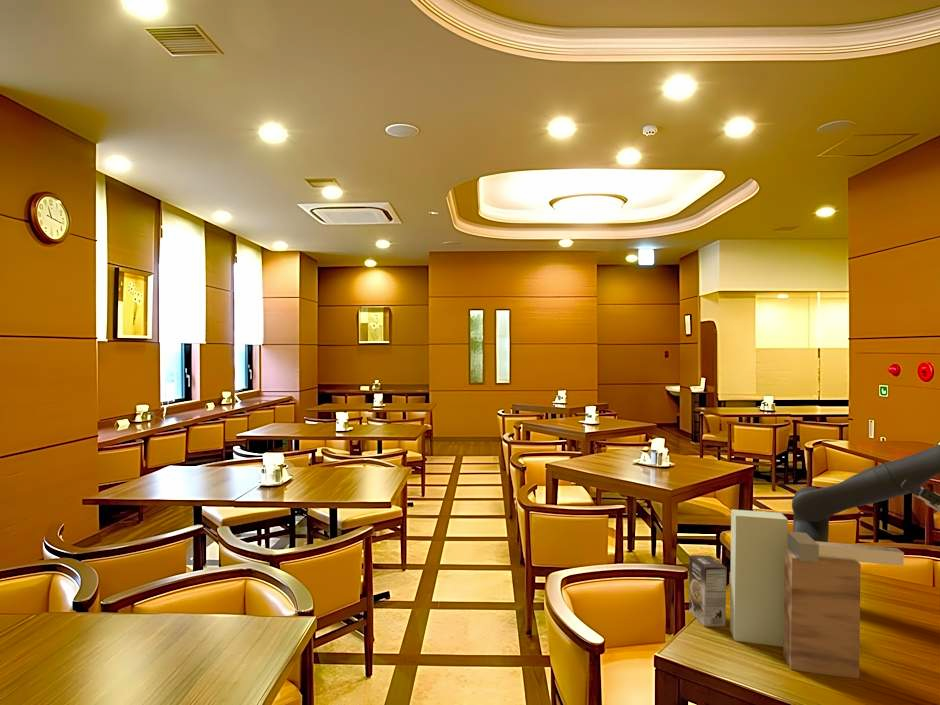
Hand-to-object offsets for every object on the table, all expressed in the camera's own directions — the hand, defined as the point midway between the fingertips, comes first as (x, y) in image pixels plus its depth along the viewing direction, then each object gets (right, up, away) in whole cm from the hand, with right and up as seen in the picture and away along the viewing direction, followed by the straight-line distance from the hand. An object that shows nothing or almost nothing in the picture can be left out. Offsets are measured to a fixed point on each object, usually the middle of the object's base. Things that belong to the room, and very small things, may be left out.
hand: (912, 486), depth 133 cm
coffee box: (-38, -42, +24) cm, 62 cm away
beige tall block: (-29, -42, +14) cm, 53 cm away
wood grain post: (-21, -42, 0) cm, 47 cm away
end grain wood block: (-16, -16, -1) cm, 23 cm away
